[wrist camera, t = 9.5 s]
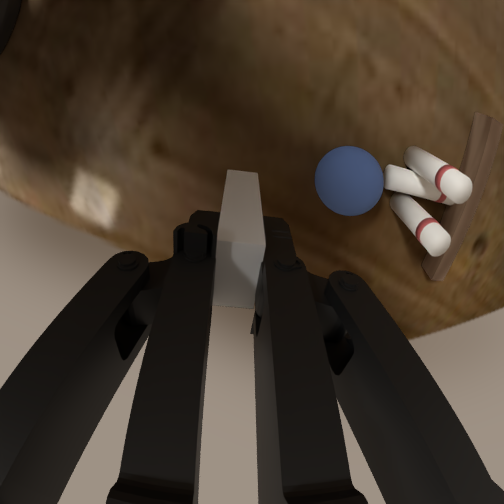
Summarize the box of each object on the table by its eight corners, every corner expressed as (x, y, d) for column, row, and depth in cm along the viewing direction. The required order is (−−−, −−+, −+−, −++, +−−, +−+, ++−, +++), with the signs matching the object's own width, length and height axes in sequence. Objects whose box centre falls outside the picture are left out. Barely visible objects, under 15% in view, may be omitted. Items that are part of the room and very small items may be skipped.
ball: (382, 224, 25) (338, 193, 29) (405, 165, 22) (355, 139, 25) (340, 234, 22) (293, 197, 26) (365, 161, 19) (309, 133, 22)
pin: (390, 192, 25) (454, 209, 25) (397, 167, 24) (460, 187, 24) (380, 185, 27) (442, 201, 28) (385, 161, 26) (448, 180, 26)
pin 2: (386, 209, 28) (423, 255, 21) (393, 188, 27) (434, 229, 20) (404, 213, 29) (443, 258, 22) (412, 192, 27) (455, 233, 20)
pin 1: (400, 165, 26) (445, 201, 19) (406, 142, 24) (456, 171, 17) (419, 171, 26) (466, 207, 19) (426, 148, 25) (476, 179, 18)
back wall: (421, 265, 33) (431, 280, 30) (475, 111, 22) (492, 117, 19) (432, 266, 33) (442, 281, 30) (486, 118, 22) (503, 124, 19)
